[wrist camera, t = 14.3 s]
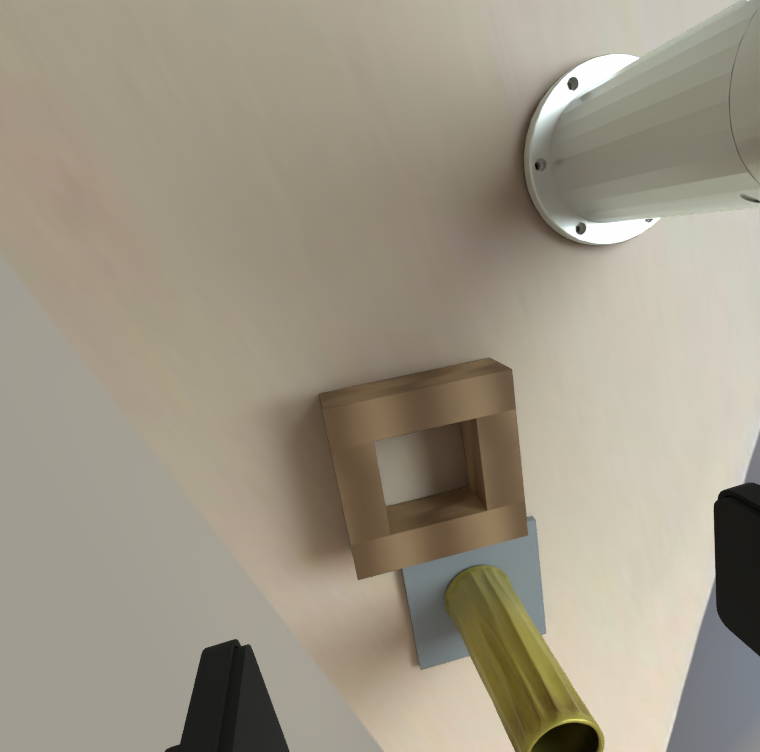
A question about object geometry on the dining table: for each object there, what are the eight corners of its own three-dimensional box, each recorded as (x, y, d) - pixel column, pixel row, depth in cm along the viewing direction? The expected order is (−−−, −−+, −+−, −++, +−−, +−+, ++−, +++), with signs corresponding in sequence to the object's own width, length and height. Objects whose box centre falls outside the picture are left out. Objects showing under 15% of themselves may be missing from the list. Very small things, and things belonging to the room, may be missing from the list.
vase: (455, 635, 43) (531, 811, 29) (434, 581, 41) (504, 741, 28) (518, 607, 43) (621, 767, 30) (499, 552, 42) (600, 696, 28)
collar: (489, 357, 38) (511, 369, 34) (506, 509, 42) (528, 535, 38) (318, 393, 36) (322, 410, 32) (351, 548, 40) (357, 580, 36)
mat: (532, 516, 42) (535, 519, 42) (542, 628, 45) (546, 633, 45) (398, 550, 41) (399, 554, 40) (419, 664, 44) (420, 669, 43)
